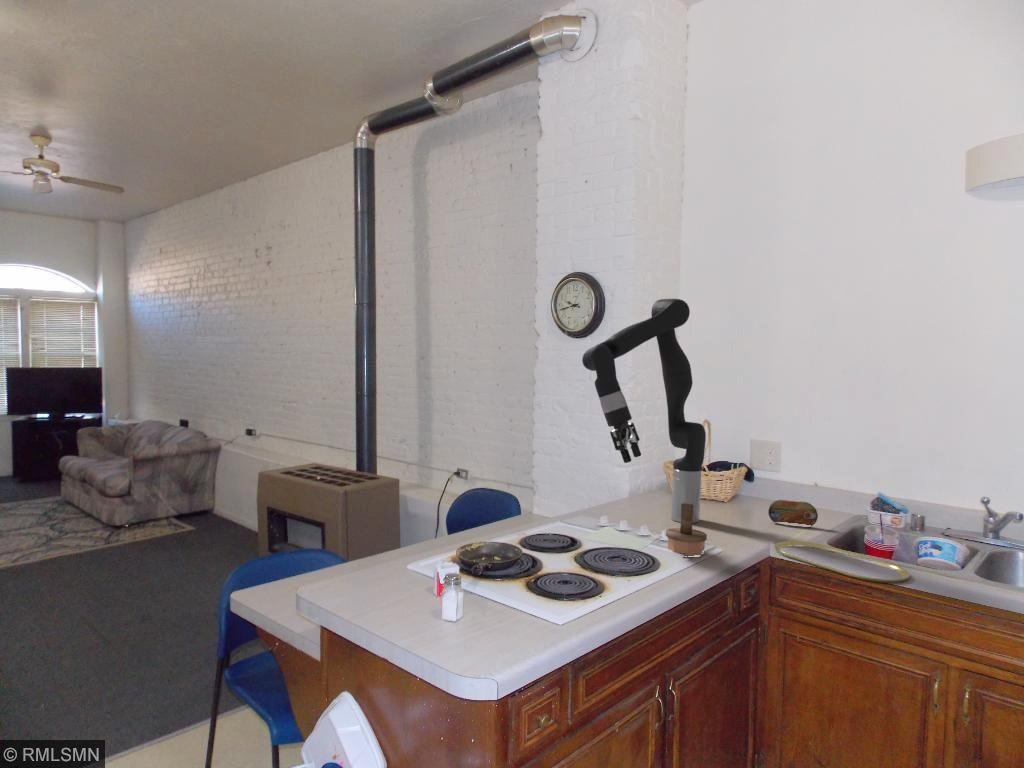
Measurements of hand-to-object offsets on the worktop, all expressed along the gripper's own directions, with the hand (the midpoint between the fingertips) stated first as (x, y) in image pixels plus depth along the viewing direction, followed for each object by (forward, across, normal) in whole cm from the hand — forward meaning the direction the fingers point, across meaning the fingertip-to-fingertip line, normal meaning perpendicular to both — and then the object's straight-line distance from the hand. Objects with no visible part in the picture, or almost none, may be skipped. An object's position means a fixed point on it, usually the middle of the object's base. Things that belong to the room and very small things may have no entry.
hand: (633, 459), depth 192 cm
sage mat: (+21, -9, +8) cm, 24 cm away
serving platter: (+43, +7, -43) cm, 61 cm away
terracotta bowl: (+28, -9, -9) cm, 31 cm away
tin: (+40, +45, -27) cm, 66 cm away
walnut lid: (+24, -9, -11) cm, 27 cm away
